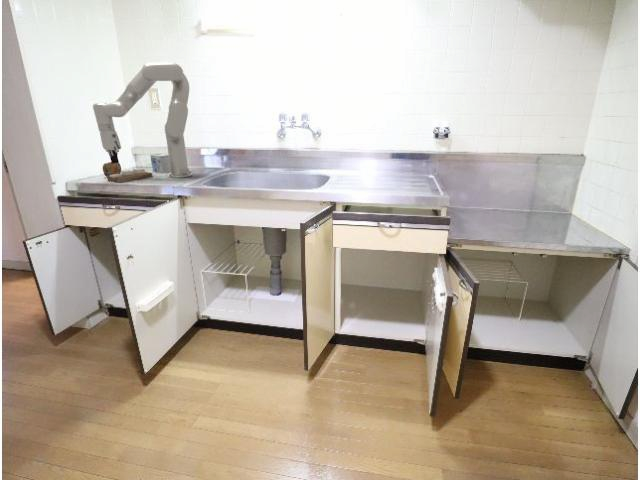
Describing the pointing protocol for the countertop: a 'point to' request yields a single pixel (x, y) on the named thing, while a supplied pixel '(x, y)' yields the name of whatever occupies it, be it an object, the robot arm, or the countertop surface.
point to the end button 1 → (115, 175)
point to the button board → (130, 177)
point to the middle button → (127, 172)
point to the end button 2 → (138, 170)
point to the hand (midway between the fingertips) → (115, 162)
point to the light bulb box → (160, 163)
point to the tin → (111, 168)
